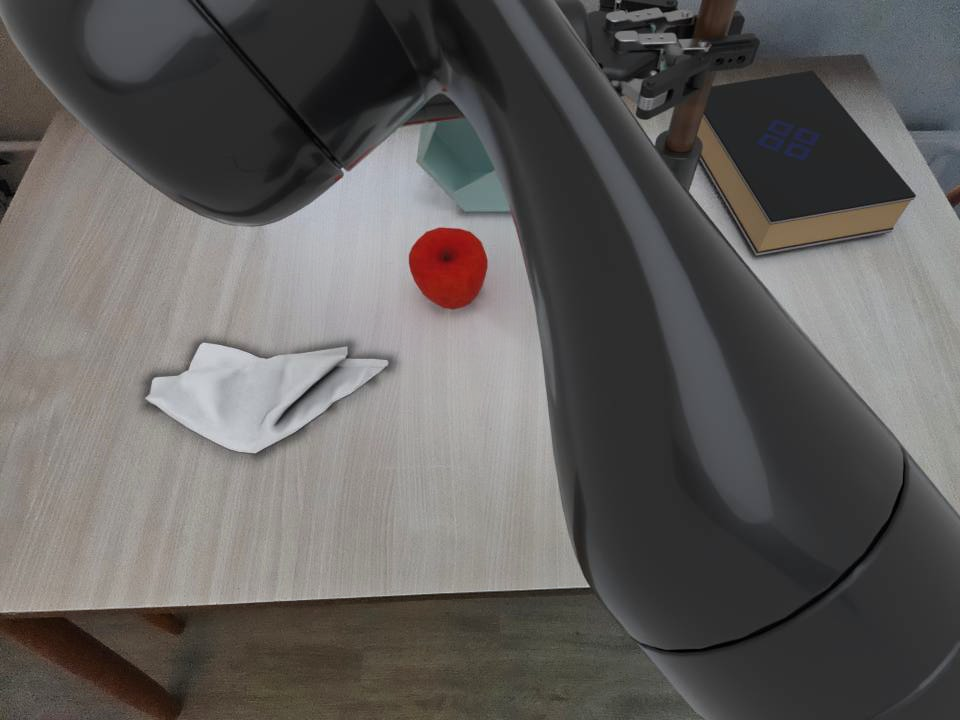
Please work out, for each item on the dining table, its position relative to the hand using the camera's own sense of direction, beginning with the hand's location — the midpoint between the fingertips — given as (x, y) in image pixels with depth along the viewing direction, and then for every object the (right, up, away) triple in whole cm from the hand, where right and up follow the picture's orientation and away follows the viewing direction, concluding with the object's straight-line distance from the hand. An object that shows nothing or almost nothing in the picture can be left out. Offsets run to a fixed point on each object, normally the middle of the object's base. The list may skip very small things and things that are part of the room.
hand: (746, 38), depth 48 cm
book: (+19, 0, +37) cm, 42 cm away
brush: (-2, -9, +12) cm, 15 cm away
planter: (-17, -2, +38) cm, 42 cm away
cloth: (-43, -28, +22) cm, 56 cm away
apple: (-23, -16, +29) cm, 40 cm away
